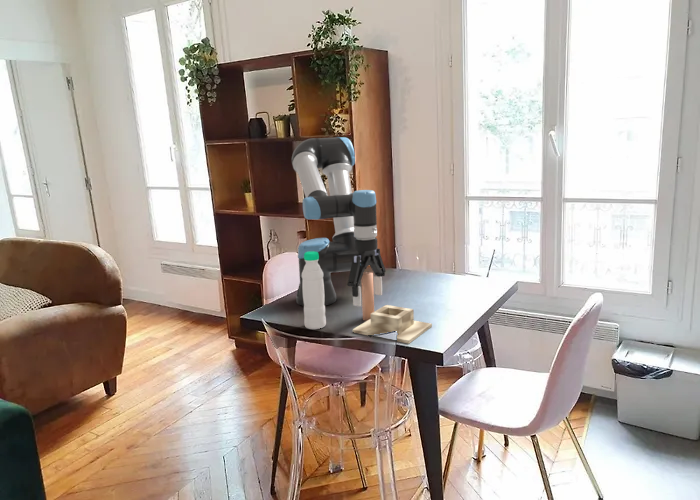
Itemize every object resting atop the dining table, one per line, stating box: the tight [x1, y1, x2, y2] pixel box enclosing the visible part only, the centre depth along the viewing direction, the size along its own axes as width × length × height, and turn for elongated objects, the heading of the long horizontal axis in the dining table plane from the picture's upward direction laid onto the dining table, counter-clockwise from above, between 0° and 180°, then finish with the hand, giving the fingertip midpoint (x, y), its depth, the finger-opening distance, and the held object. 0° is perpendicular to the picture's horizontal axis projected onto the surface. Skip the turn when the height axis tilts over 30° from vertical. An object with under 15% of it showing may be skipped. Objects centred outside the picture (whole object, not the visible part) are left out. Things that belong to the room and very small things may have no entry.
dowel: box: [360, 271, 375, 322], centre depth 183 cm, size 4×4×16 cm
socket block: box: [352, 304, 433, 344], centre depth 174 cm, size 20×16×6 cm
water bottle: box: [302, 251, 327, 330], centre depth 177 cm, size 7×7×25 cm
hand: (368, 300), depth 183 cm, fingers open, 13 cm apart
